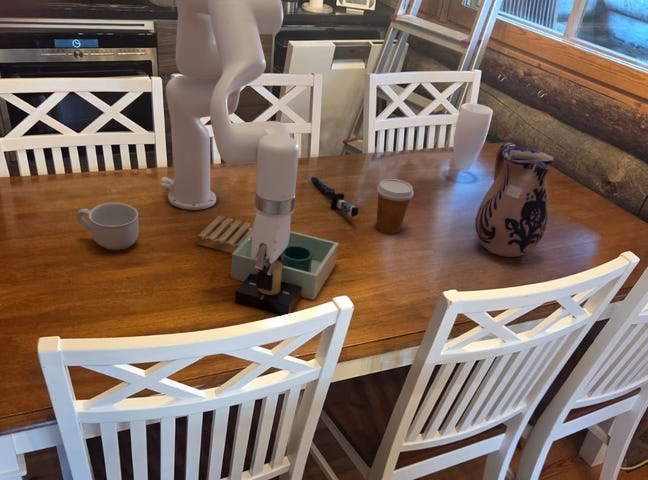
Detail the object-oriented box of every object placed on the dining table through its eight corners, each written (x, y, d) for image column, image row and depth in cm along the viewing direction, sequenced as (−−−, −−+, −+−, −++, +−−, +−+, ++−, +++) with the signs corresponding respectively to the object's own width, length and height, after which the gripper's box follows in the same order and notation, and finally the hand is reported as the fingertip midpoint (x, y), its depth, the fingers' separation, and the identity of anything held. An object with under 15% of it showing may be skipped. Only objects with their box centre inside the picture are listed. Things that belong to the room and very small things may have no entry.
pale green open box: (231, 278, 141) (231, 254, 137) (259, 246, 154) (260, 223, 150) (313, 300, 137) (316, 276, 134) (335, 265, 150) (338, 242, 146)
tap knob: (275, 297, 131) (277, 271, 127) (254, 291, 132) (255, 265, 128) (283, 286, 135) (285, 260, 131) (263, 280, 136) (264, 254, 132)
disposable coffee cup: (410, 226, 171) (419, 184, 163) (398, 240, 164) (407, 197, 156) (377, 216, 173) (385, 175, 166) (365, 229, 166) (372, 187, 159)
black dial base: (234, 304, 133) (234, 291, 131) (250, 283, 140) (251, 271, 138) (287, 318, 131) (288, 306, 129) (301, 297, 138) (302, 285, 136)
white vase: (478, 184, 199) (497, 115, 186) (446, 181, 199) (462, 111, 185) (472, 171, 207) (490, 104, 194) (441, 168, 207) (457, 100, 193)
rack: (196, 246, 150) (195, 234, 148) (217, 225, 159) (217, 214, 158) (242, 258, 148) (243, 246, 146) (261, 236, 157) (262, 225, 155)
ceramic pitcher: (497, 270, 157) (528, 174, 141) (447, 231, 171) (471, 140, 155) (549, 260, 164) (584, 167, 148) (497, 223, 178) (524, 135, 162)
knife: (358, 224, 166) (360, 207, 163) (347, 224, 165) (349, 208, 162) (318, 187, 189) (319, 172, 187) (308, 187, 188) (310, 172, 186)
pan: (313, 268, 147) (316, 249, 144) (304, 282, 141) (306, 263, 138) (264, 256, 149) (265, 237, 146) (253, 269, 144) (254, 250, 141)
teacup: (149, 240, 150) (147, 209, 145) (123, 260, 142) (120, 228, 137) (98, 226, 153) (94, 195, 148) (70, 245, 145) (65, 213, 140)
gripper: (273, 182, 128) (268, 260, 140) (238, 214, 115) (236, 297, 127) (307, 190, 127) (299, 268, 138) (276, 224, 114) (271, 307, 125)
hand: (269, 281), depth 132 cm, fingers closed on tap knob, 4 cm apart
